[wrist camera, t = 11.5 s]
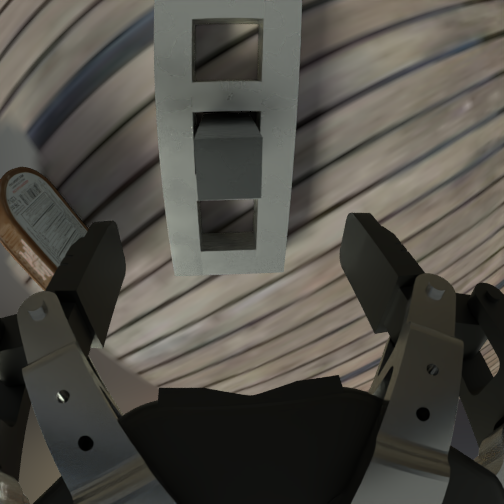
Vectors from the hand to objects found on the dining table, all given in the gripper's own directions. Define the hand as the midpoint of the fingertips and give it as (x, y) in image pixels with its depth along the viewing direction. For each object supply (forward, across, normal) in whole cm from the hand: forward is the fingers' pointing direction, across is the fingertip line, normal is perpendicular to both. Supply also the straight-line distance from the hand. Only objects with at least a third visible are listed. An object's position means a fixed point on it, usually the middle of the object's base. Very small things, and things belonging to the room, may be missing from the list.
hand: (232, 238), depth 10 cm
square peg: (+16, 0, 0) cm, 16 cm away
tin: (+16, +16, +7) cm, 24 cm away
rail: (+16, 0, 0) cm, 16 cm away
